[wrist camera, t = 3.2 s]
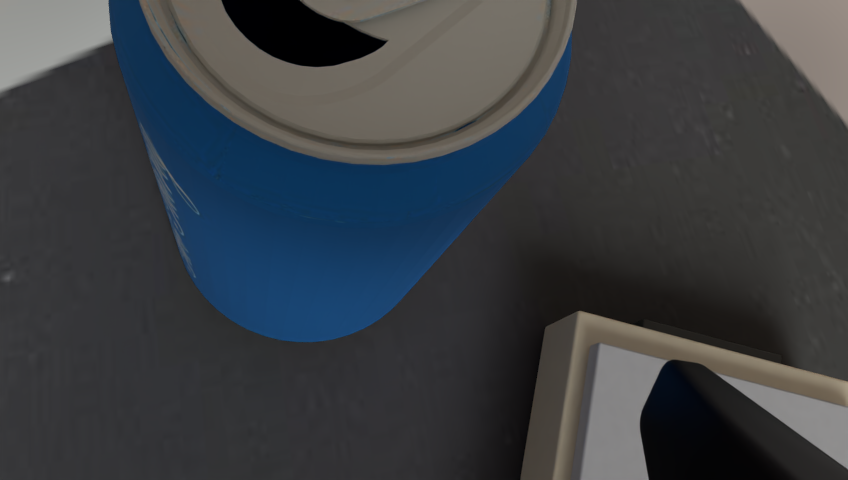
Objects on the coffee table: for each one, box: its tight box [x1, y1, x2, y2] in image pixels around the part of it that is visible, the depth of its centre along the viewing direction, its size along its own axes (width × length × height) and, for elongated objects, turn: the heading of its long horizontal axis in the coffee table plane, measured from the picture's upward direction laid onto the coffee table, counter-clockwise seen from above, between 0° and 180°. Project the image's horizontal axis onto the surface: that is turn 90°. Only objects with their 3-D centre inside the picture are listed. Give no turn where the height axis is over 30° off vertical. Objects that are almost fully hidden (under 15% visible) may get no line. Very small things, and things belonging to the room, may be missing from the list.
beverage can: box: [109, 0, 577, 342], centre depth 16 cm, size 6×6×12 cm
